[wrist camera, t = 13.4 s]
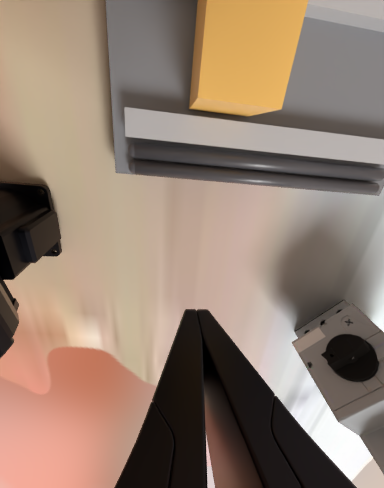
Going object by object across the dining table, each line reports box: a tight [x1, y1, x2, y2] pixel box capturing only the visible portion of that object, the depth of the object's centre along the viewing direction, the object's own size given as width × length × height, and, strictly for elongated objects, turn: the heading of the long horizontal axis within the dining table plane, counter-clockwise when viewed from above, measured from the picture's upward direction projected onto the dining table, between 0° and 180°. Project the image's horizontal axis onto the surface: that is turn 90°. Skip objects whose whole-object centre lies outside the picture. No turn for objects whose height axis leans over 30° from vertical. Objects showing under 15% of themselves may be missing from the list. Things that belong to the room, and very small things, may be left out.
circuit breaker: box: [292, 300, 384, 474], centre depth 22 cm, size 8×14×15 cm, turn 45°
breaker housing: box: [106, 0, 384, 196], centre depth 14 cm, size 22×14×3 cm, turn 84°
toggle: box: [189, 0, 308, 117], centre depth 11 cm, size 4×5×5 cm
